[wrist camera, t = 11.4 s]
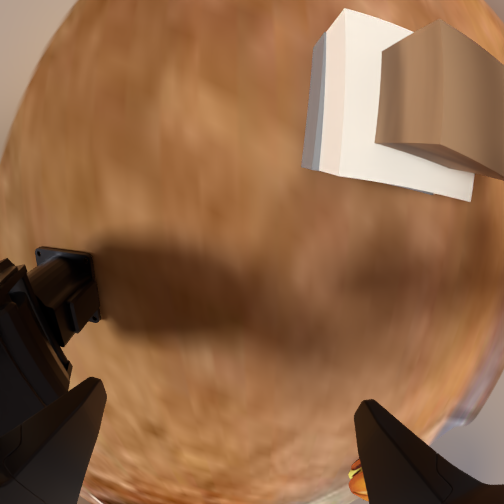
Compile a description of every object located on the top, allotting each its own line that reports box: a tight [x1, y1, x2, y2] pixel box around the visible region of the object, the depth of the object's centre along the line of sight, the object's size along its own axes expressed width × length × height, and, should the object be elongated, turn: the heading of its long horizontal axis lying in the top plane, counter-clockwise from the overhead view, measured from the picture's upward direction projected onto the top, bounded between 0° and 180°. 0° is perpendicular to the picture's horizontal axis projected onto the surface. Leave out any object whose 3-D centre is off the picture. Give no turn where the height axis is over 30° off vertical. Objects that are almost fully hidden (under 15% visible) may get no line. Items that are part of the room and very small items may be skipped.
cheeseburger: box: [348, 459, 369, 501], centre depth 30 cm, size 10×11×10 cm
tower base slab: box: [301, 32, 433, 195], centre depth 15 cm, size 9×9×4 cm
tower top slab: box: [319, 8, 474, 202], centre depth 12 cm, size 9×9×4 cm
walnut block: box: [374, 19, 504, 180], centre depth 8 cm, size 5×5×5 cm
